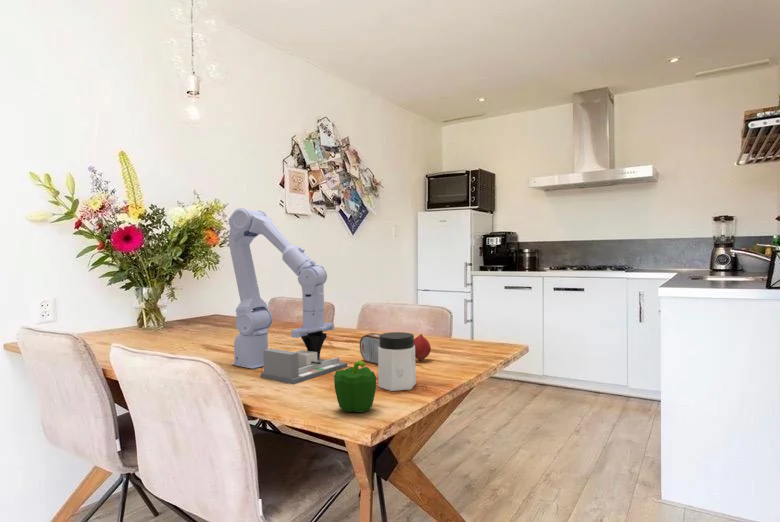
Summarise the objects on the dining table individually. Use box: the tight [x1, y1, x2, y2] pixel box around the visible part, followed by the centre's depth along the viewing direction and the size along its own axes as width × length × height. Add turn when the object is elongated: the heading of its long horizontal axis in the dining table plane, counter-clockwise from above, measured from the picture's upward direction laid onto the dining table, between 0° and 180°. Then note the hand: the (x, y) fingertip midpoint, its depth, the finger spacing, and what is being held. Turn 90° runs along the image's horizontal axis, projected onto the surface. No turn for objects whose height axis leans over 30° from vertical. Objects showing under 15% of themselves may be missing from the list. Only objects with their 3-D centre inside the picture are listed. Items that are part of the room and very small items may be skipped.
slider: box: [295, 349, 321, 368], centre depth 122 cm, size 9×4×4 cm, turn 55°
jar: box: [377, 331, 417, 392], centre depth 109 cm, size 9×8×12 cm
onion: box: [414, 333, 432, 362], centre depth 133 cm, size 6×6×8 cm
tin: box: [359, 332, 382, 366], centre depth 130 cm, size 15×3×8 cm, turn 45°
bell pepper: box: [333, 360, 377, 413], centre depth 93 cm, size 8×8×10 cm
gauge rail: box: [260, 348, 348, 385], centre depth 123 cm, size 12×20×7 cm, turn 145°
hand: (314, 360), depth 126 cm, fingers closed
